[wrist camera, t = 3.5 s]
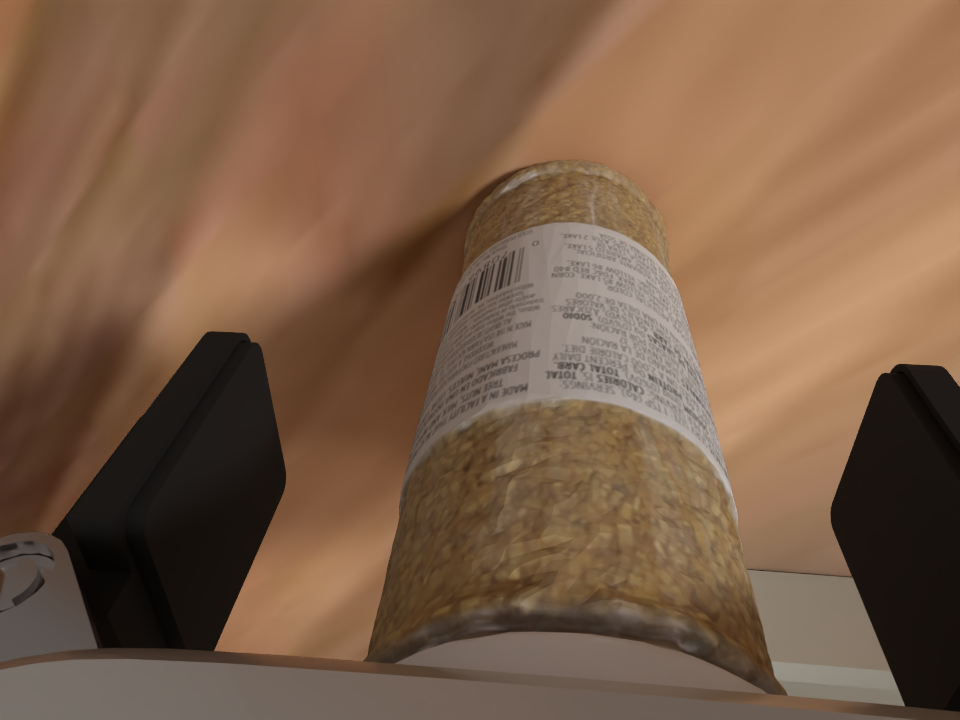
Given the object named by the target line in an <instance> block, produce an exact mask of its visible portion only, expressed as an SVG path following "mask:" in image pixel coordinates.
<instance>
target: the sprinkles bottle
mask: <svg viewBox="0 0 960 720" xmlns="http://www.w3.org/2000/svg"><path fill="white" fill-rule="evenodd" d="M668 260H669V253H668V241H667V238H666V233H665V228H664V222H663V219H662V216H661V214H660V212H659V211H658V210H657V208H656V207H655V206H654V205H653V203H652V202H651V200H650V199H649V197H648V195H647V194H646V193H645V192H644V191H643V190H642V189H641V188H639V187H638V186H637V185H636V184H635V183H634V182H633V181H632V180H631V179H630V178H628V177H627V176H625V175H623V174H621V173H619V172H617V171H615V170H613V169H611V168H609V167H607V166H605V165H603V164H601V163H592V162H588V161H582V160H566V161H560V160H556V161H549V162H546V163H543V164H537V165H533V166H531V167H528V168H525V169H522V170H520V171H518V172H516V173H515V174H513V175H512V176H511V177H510V178H508V179H507V180H505V181H503V182H502V183H500V184H499V185H498V186H497V187H496V188H495V189H494V191H493V192H492V193H491V194H490V195H489V196H488V197H486V198H485V199H484V200H483V201H482V203H481V204H480V206H479V207H478V209H477V210H476V212H475V215H474V217H473V219H472V222H471V224H470V226H469V228H468V231H467V234H466V238H465V246H464V266H463V271H462V276H461V279H460V281H459V283H458V285H457V287H456V289H455V292H454V294H453V297H452V300H451V303H450V307H449V310H448V314H447V317H446V321H445V325H444V329H443V332H442V336H441V340H440V344H439V348H438V352H437V356H436V360H435V364H434V368H433V371H432V375H431V378H430V382H429V386H428V390H427V393H426V397H425V401H424V405H423V409H422V412H421V416H420V420H419V423H418V427H417V430H416V434H415V438H414V442H413V446H412V450H411V454H410V458H409V462H408V466H407V470H406V474H405V478H404V482H403V487H402V491H401V497H400V506H399V516H400V518H399V522H398V528H397V531H396V535H395V539H394V542H393V546H392V552H391V556H390V560H389V563H388V567H387V573H386V579H385V584H384V588H383V592H382V597H381V601H380V605H379V608H378V611H377V616H376V620H375V624H374V628H373V633H372V637H371V641H370V645H369V651H368V656H367V657H366V658H365V660H364V661H365V662H378V663H391V664H405V665H418V666H431V667H444V668H458V669H470V670H483V671H495V672H508V673H520V674H533V675H545V676H558V677H570V678H582V679H595V680H607V681H619V682H631V683H644V684H656V685H668V686H680V687H692V688H704V689H715V690H727V691H738V692H750V693H762V694H773V695H785V696H788V695H787V693H786V691H785V689H784V688H783V687H782V685H781V684H780V683H779V682H778V680H777V679H776V678H775V676H774V671H773V667H772V662H771V659H770V657H769V654H768V651H767V649H768V648H767V645H766V641H765V636H764V631H763V626H762V623H761V620H760V615H759V612H758V608H757V604H756V600H755V596H754V591H753V587H752V584H751V580H750V577H749V574H748V570H747V566H746V563H745V559H744V553H743V547H742V542H741V539H740V535H739V532H738V516H737V510H736V506H735V502H734V498H733V494H732V490H731V486H730V482H729V478H728V474H727V470H726V466H725V462H724V458H723V455H722V451H721V447H720V443H719V439H718V436H717V432H716V428H715V424H714V420H713V416H712V413H711V409H710V405H709V401H708V397H707V393H706V389H705V385H704V382H703V378H702V374H701V370H700V366H699V362H698V358H697V354H696V351H695V347H694V344H693V340H692V337H691V333H690V329H689V325H688V321H687V318H686V315H685V311H684V307H683V304H682V301H681V297H680V294H679V291H678V289H677V287H676V285H675V283H674V281H673V279H672V275H671V270H670V267H669V264H668Z"/></svg>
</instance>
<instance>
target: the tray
mask: <svg viewBox="0 0 960 720" xmlns="http://www.w3.org/2000/svg"><path fill="white" fill-rule="evenodd" d="M748 574H749V577H750V580H751V584H752V587H753V591H754V596H755V600H756V604H757V608H758V612H759V615H760V620H761V623H762V626H763V631H764V636H765V641H766V645H767V648H768V649H767V651H768V654H769V657H770V659H771V662H772V667H773V671H774V676H775V678H776V679H777V680H778V682H779V683H780V684H781V685H782V687H783V688H784V689H785V691H786V693H787V695H788V696H796V697H808V698H820V699H831V700H843V701H854V702H866V703H877V704H887V705H897V706H905V705H904V702H903V700H902V697H901V695H900V692H899V690H898V687H897V685H896V683H895V680H894V678H893V675H892V673H891V670H890V668H889V665H888V663H887V661H886V658H885V656H884V653H883V651H882V648H881V646H880V643H879V641H878V638H877V636H876V634H875V631H874V629H873V626H872V624H871V621H870V619H869V616H868V614H867V612H866V609H865V607H864V604H863V602H862V599H861V597H860V594H859V592H858V589H857V587H856V585H855V582H854V580H853V578H851V577H837V576H824V575H810V574H797V573H783V572H770V571H756V570H748Z"/></svg>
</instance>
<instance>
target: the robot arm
mask: <svg viewBox="0 0 960 720" xmlns="http://www.w3.org/2000/svg"><path fill="white" fill-rule="evenodd" d="M285 483H286V470H285V464H284V459H283V454H282V449H281V444H280V439H279V434H278V429H277V424H276V419H275V414H274V409H273V404H272V399H271V394H270V389H269V384H268V379H267V374H266V369H265V364H264V359H263V354H262V350H261V347H260V345H259V344H258V343H252V342H251V341H250V339H249V337H248V335H247V334H245V333H234V332H213V331H211V332H207V333H206V334H205V335H204V336H203V337H202V338H201V340H200V341H199V342H198V344H197V345H196V346H195V348H194V349H193V350H192V352H191V353H190V354H189V356H188V357H187V358H186V360H185V361H184V362H183V364H182V365H181V366H180V368H179V369H178V370H177V372H176V373H175V374H174V376H173V377H172V378H171V379H170V381H169V382H168V383H167V385H166V386H165V387H164V389H163V390H162V391H161V393H160V394H159V395H158V397H157V398H156V399H155V401H154V402H153V403H152V405H151V406H150V407H149V409H148V410H147V411H146V413H145V414H144V415H143V416H142V417H141V418H140V419H139V420H138V421H137V423H136V424H135V425H134V426H133V428H132V429H131V430H130V432H129V433H128V434H127V436H126V437H125V438H124V440H123V441H122V442H121V444H120V445H119V446H118V448H117V449H116V450H115V452H114V453H113V454H112V456H111V457H110V458H109V459H108V461H107V462H106V463H105V465H104V466H103V467H102V469H101V470H100V471H99V473H98V474H97V475H96V477H95V478H94V479H93V481H92V482H91V483H90V485H89V486H88V487H87V489H86V490H85V491H84V492H83V494H82V495H81V496H80V498H79V499H78V500H77V502H76V503H75V504H74V506H73V507H72V508H71V510H70V511H69V512H68V514H67V515H66V516H65V518H64V519H63V520H62V521H61V523H60V524H59V525H58V527H57V528H56V529H55V531H54V532H53V533H52V535H50V534H45V533H38V532H27V533H17V534H12V535H9V536H5V537H2V538H0V720H960V387H959V386H958V384H957V383H956V382H955V380H954V379H953V378H952V376H951V375H950V374H949V373H948V371H947V370H946V369H945V368H943V367H941V366H933V365H912V364H899V365H896V366H895V367H894V368H893V369H892V370H891V372H890V373H883V374H881V375H880V377H879V378H878V380H877V382H876V385H875V387H874V390H873V393H872V396H871V398H870V401H869V404H868V407H867V409H866V412H865V415H864V418H863V420H862V423H861V426H860V428H859V431H858V434H857V437H856V439H855V442H854V445H853V448H852V450H851V453H850V456H849V459H848V461H847V464H846V467H845V470H844V472H843V475H842V478H841V481H840V483H839V486H838V489H837V492H836V494H835V497H834V500H833V502H832V506H831V524H832V528H833V531H834V533H835V536H836V538H837V541H838V543H839V545H840V548H841V550H842V553H843V555H844V558H845V560H846V563H847V565H848V567H849V570H850V572H851V575H852V577H853V580H854V582H855V585H856V587H857V589H858V592H859V594H860V597H861V599H862V602H863V604H864V607H865V609H866V612H867V614H868V616H869V619H870V621H871V624H872V626H873V629H874V631H875V634H876V636H877V638H878V641H879V643H880V646H881V648H882V651H883V653H884V656H885V658H886V661H887V663H888V665H889V668H890V670H891V673H892V675H893V678H894V680H895V683H896V685H897V687H898V690H899V692H900V695H901V697H902V700H903V702H904V705H905V706H897V705H887V704H877V703H866V702H854V701H843V700H831V699H820V698H808V697H796V696H785V695H773V694H762V693H750V692H738V691H727V690H715V689H704V688H692V687H680V686H668V685H656V684H644V683H631V682H619V681H607V680H595V679H582V678H570V677H558V676H545V675H533V674H520V673H508V672H495V671H483V670H470V669H458V668H444V667H431V666H418V665H405V664H391V663H378V662H365V661H352V660H338V659H325V658H312V657H299V656H285V655H269V654H252V653H235V652H218V651H214V649H215V647H216V645H217V643H218V640H219V638H220V636H221V633H222V631H223V629H224V627H225V624H226V622H227V620H228V618H229V615H230V613H231V611H232V608H233V606H234V604H235V602H236V599H237V597H238V595H239V593H240V590H241V588H242V586H243V583H244V581H245V579H246V577H247V574H248V572H249V570H250V568H251V565H252V563H253V561H254V558H255V556H256V554H257V552H258V549H259V547H260V545H261V543H262V540H263V538H264V536H265V534H266V531H267V529H268V527H269V524H270V522H271V520H272V518H273V515H274V513H275V511H276V509H277V506H278V504H279V502H280V499H281V497H282V495H283V492H284V489H285Z"/></svg>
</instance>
